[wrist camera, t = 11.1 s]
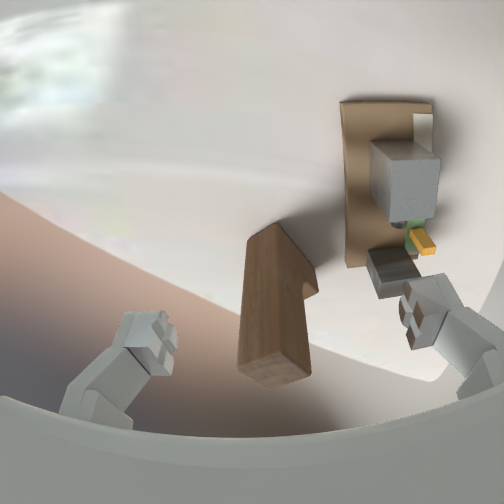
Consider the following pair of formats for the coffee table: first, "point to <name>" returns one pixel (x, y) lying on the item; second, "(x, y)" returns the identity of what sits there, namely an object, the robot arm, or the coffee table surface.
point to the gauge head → (403, 180)
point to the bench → (361, 202)
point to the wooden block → (275, 310)
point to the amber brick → (422, 241)
